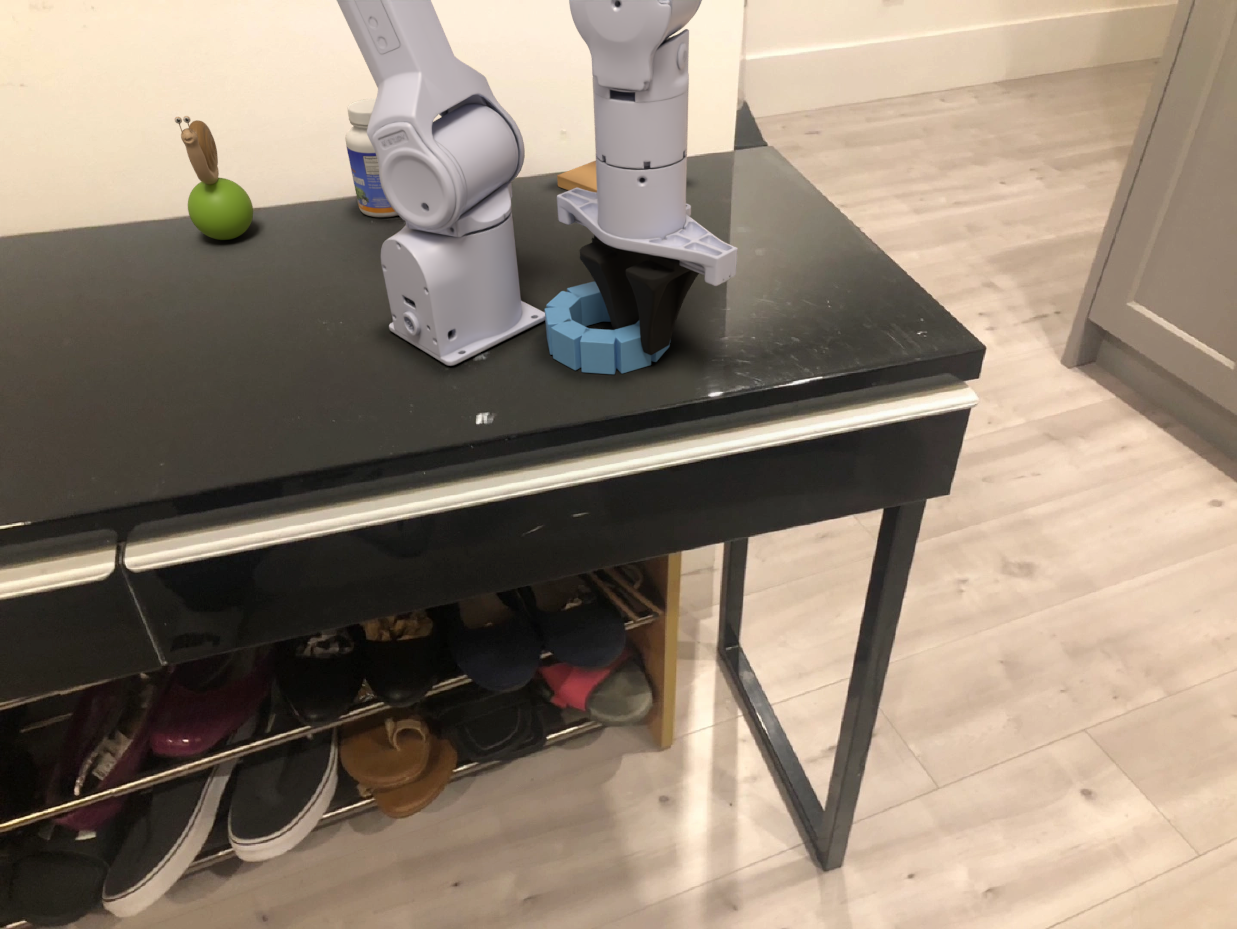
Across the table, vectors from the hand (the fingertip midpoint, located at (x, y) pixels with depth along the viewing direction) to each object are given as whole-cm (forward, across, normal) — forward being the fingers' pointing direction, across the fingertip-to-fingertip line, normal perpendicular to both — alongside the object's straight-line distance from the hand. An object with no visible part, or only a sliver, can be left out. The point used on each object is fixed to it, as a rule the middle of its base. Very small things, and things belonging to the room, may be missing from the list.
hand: (642, 341), depth 65 cm
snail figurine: (+2, +42, +11) cm, 44 cm away
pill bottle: (+2, +37, -3) cm, 37 cm away
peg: (+1, +24, -22) cm, 33 cm away
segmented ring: (+1, +4, 0) cm, 4 cm away
